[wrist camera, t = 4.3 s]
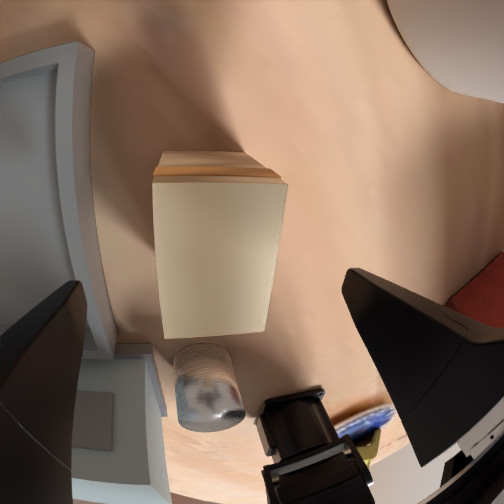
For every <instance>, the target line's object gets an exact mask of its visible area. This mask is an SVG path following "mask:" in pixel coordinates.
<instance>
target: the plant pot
mask: <svg viewBox="0 0 504 504" xmlns="http://www.w3.org/2000/svg"><path fill="white" fill-rule="evenodd" d="M445 307H446V308H449V309H451V310H453V311H455V312H457V313H460V314H462V315H464V316H467V317H469V318H472V319H474V320H476V321H479V322H481V323H484V324H486V325H488V326H491V327H495V328H504V252H502V253H501V254H500V255H499V256H498V257H497V258H496V259H495V260H494V261H493V262H492V263H491V264H489V265H488V266H487V267H486V268H485V269H484V270H483V271H482V272H481V273H480V274H479V275H478V276H476V277H475V278H474V279H473V280H472V281H471V282H470V283H469V284H467V285H466V286H465V287H464V288H463V289H462V290H460V291H459V292H458V293H457V294H456V295H454V296H453V297H452V298H451V299H450V300H449V301H448V303H447V304H446V306H445Z"/></svg>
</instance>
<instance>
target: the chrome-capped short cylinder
mask: <svg viewBox="0 0 504 504" xmlns="http://www.w3.org/2000/svg"><path fill="white" fill-rule="evenodd" d="M173 370H174V383H175V394H176V404H177V413H178V422H179V424H180V425H181V426H182V427H184V428H186V429H188V430H191V431H196V432H216V431H221V430H225V429H228V428H231V427H233V426H235V425H237V424H238V423H240V422H241V421H242V420H243V419H244V417H245V415H246V413H245V409H244V405H243V402H242V398H241V395H240V391H239V387H238V384H237V380H236V376H235V373H234V369H233V365H232V361H231V357H230V354H229V353H228V351H227V350H226V349H224V348H223V347H221V346H219V345H215V344H210V343H199V344H193V345H190V346H187V347H185V348H183V349H182V350H180V351H179V352H178V353H177V354H176V355H175V357H174V359H173Z"/></svg>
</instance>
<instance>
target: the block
mask: <svg viewBox="0 0 504 504" xmlns="http://www.w3.org/2000/svg"><path fill="white" fill-rule="evenodd" d="M287 189H288V184H286V183H285V182H284V181H282V180H281V176H279V175H278V174H277V173H275V172H274V171H273V170H271V169H267V168H265V167H264V166H263V165H261V164H260V163H259V162H257V161H256V160H255V159H253V158H252V157H251V156H249V155H248V154H247V153H245V152H227V151H163V153H162V156H161V159H160V161H159V164H158V167H156V168H155V170H154V173H153V183H152V196H153V225H154V243H155V257H156V270H157V281H158V291H159V300H160V309H161V317H162V324H163V331H164V338H165V339H174V338H193V337H208V336H221V335H233V334H244V333H254V332H263V331H264V330H265V325H266V319H267V313H268V308H269V302H270V296H271V290H272V284H273V278H274V272H275V266H276V260H277V254H278V248H279V241H280V235H281V229H282V222H283V216H284V209H285V202H286V195H287Z"/></svg>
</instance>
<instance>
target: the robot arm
mask: <svg viewBox="0 0 504 504" xmlns="http://www.w3.org/2000/svg"><path fill="white" fill-rule="evenodd" d="M342 294H343V297H344V299H345V302H346V304H347V307H348V309H349V312H350V314H351V316H352V319H353V321H354V324H355V326H356V328H357V330H358V332H359V334H360V336H361V338H362V340H363V342H364V344H365V346H366V348H367V350H368V352H369V354H370V356H371V358H372V360H373V362H374V364H375V366H376V368H377V370H378V372H379V374H380V376H381V378H382V380H383V382H384V384H385V387H386V389H387V391H388V393H389V395H390V397H391V399H392V401H393V404H394V406H395V408H396V410H397V412H398V415H399V417H400V419H401V420H402V421H401V422H402V424H403V426H404V428H405V431H406V433H407V435H408V438H409V440H410V442H411V445H412V447H413V449H414V452H415V454H416V457H417V459H418V462H419V464H420V466H421V467H423V466H425V465H427V464H428V463H429V462H431V461H432V460H434V459H435V458H437V457H438V456H440V455H441V454H442V453H444V452H445V451H446V450H448V449H449V448H451V447H452V446H453V445H455V444H456V443H458V445H459V447H460V448H461V451H459V452H458V453H457V454H456V455H455V456H453V457H452V458H451V459H449V460H448V461H447V462H445V466H444V471H443V476H442V480H441V485H440V488H439V489H438V490H437V491H435V492H434V493H432V494H431V495H429V496H428V497H427V498H425V499H424V500H423V501H421V502H419V503H418V504H504V328H495V327H491V326H488V325H486V324H484V323H481V322H479V321H476V320H474V319H472V318H469V317H467V316H464V315H462V314H460V313H457V312H455V311H453V310H451V309H449V308H446V307H444V306H442V305H440V304H437V303H436V302H434V301H431V300H429V299H427V298H425V297H423V296H421V295H418V294H416V293H414V292H412V291H410V290H407V289H405V288H403V287H401V286H399V285H396V284H394V283H392V282H390V281H388V280H385V279H383V278H381V277H379V276H376V275H374V274H372V273H370V272H367V271H365V270H363V269H360V268H350V269H348V270H347V272H346V275H345V279H344V282H343V285H342ZM87 308H88V305H87V300H86V296H85V292H84V288H83V285H82V282H81V281H80V280H69V281H67V282H66V283H65V284H63V285H62V286H61V287H59V288H58V289H57V290H55V291H54V292H53V293H52V294H50V295H49V296H48V297H46V298H45V299H44V300H43V301H41V302H40V303H39V304H37V305H36V306H35V307H34V308H32V309H31V310H30V311H29V312H28V313H26V314H25V315H24V316H23V317H21V318H20V319H19V320H18V321H17V322H15V323H14V324H13V325H12V326H11V327H10V328H8V329H7V330H6V331H5V332H4V333H3V334H1V335H0V504H73V498H72V471H71V470H72V437H73V423H74V411H75V402H76V394H77V386H78V379H79V372H80V366H81V360H82V355H83V348H84V337H85V326H86V317H87ZM324 394H325V391H324V389H318V390H314V391H309V392H305V393H300V394H296V395H291V396H286V397H281V398H275V399H270V400H267V401H265V402H264V405H263V408H262V412H261V414H260V415H259V418H258V421H257V425H256V426H257V429H258V433H259V436H260V439H261V442H262V445H263V448H264V451H265V454H266V456H272V458H273V461H274V464H271V465H265V466H263V468H264V470H262V471H261V472H262V475H263V478H264V482H265V486H266V494H267V502H268V504H375V501H374V498H373V496H372V494H371V492H370V490H369V486H371V485H373V479H372V476H371V474H370V472H369V469H368V467H367V465H366V464H365V462H364V460H363V458H362V457H361V455H360V453H359V452H358V450H357V448H356V447H355V445H354V443H353V442H352V440H351V438H350V436H349V435H348V434H346V435H344V436H343V437H341V438H339V437H338V435H337V433H336V430H335V428H334V426H333V424H332V422H331V420H330V418H329V416H328V414H327V412H326V410H325V408H324V406H323V404H322V402H321V400H322V398H323V396H324ZM344 452H346V454H344Z"/></svg>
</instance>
